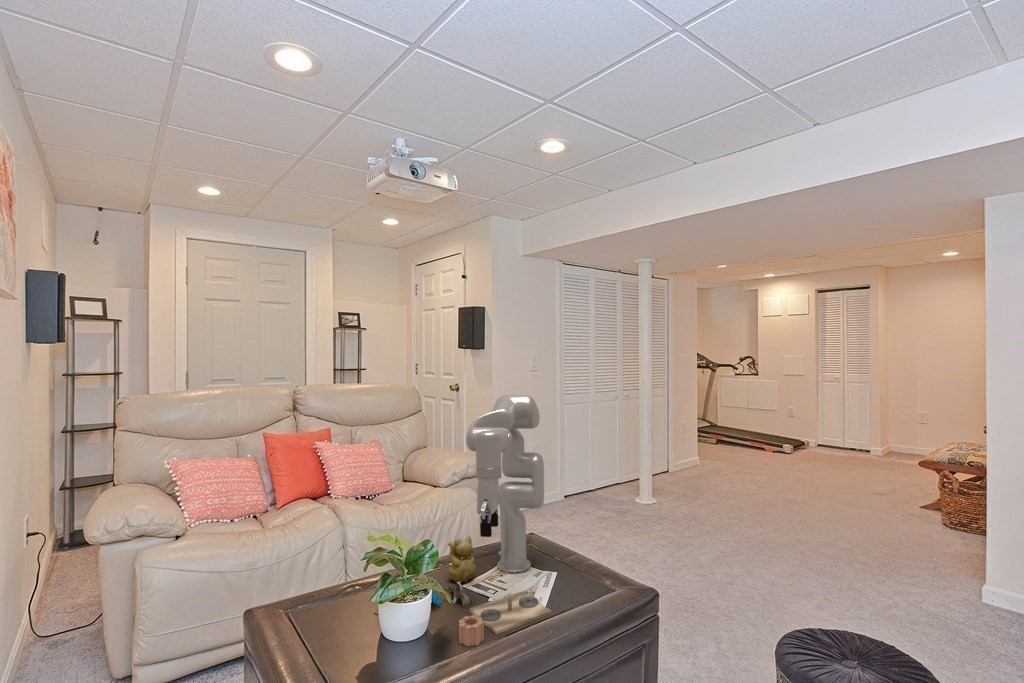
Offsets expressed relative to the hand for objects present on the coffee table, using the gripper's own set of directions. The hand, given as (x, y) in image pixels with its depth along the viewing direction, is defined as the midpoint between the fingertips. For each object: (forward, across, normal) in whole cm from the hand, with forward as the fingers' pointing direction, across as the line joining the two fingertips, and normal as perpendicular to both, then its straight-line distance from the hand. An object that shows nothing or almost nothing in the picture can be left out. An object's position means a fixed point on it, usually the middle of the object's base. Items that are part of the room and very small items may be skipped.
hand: (489, 531), depth 156 cm
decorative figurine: (+27, -30, -16) cm, 44 cm away
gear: (+28, -12, -23) cm, 38 cm away
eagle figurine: (+28, -14, -14) cm, 34 cm away
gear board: (+28, -10, +4) cm, 30 cm away
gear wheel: (+28, +6, -4) cm, 29 cm away
